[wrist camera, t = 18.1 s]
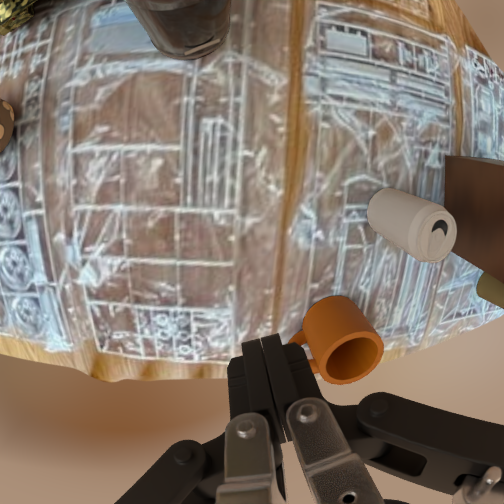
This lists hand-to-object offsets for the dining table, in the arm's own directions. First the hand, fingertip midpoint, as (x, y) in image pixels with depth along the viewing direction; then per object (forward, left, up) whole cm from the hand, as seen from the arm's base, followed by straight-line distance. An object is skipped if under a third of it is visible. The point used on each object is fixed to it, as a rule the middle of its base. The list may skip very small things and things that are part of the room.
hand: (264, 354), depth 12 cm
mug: (+16, +13, -26) cm, 33 cm away
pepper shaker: (+11, +48, -26) cm, 56 cm away
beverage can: (-1, +20, -26) cm, 33 cm away
